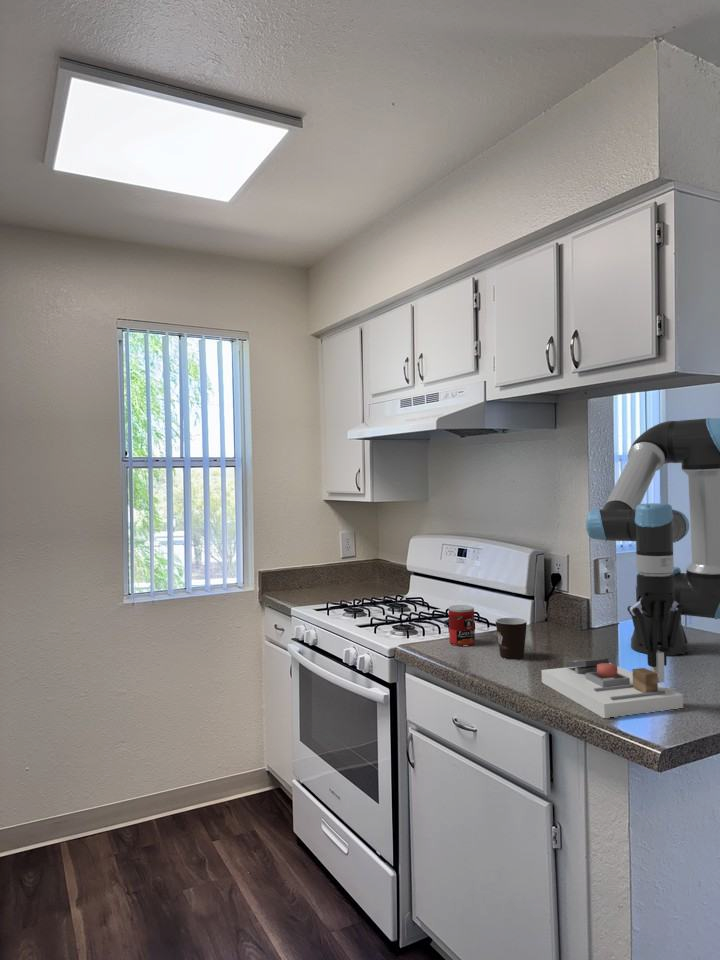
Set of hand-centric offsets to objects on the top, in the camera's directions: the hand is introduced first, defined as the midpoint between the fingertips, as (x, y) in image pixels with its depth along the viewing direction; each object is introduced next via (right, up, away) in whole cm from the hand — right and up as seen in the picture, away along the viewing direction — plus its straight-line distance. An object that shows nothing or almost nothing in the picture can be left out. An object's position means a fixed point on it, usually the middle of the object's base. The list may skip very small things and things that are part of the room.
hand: (657, 680), depth 148 cm
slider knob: (-3, -2, -1) cm, 3 cm away
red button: (-9, 0, +6) cm, 11 cm away
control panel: (-9, -5, +6) cm, 12 cm away
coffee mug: (-23, -6, +42) cm, 48 cm away
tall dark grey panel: (-11, -1, +14) cm, 18 cm away
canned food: (-34, -6, +56) cm, 66 cm away
